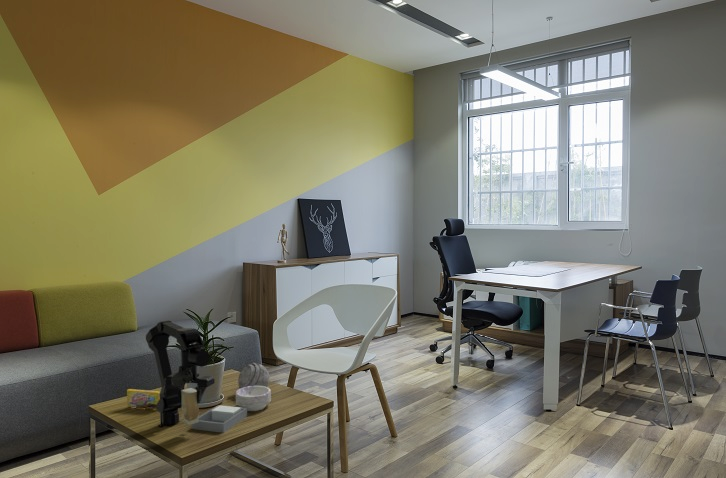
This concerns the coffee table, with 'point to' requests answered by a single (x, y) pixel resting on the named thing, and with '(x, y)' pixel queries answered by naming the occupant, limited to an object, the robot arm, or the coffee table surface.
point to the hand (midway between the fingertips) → (190, 402)
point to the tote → (218, 426)
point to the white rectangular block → (224, 412)
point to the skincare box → (190, 406)
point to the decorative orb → (253, 376)
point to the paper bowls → (253, 397)
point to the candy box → (142, 398)
